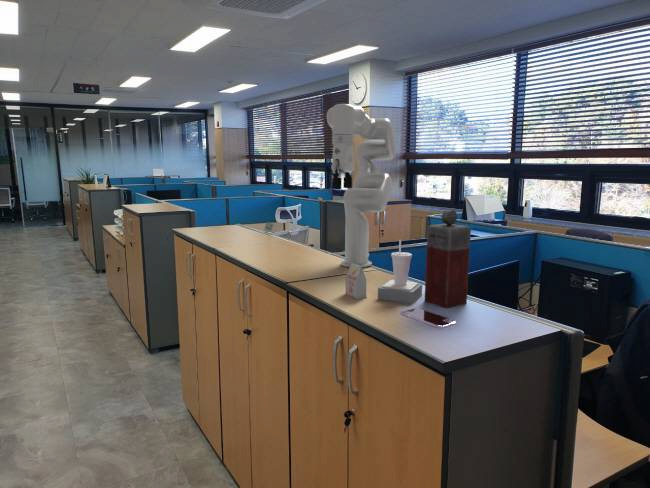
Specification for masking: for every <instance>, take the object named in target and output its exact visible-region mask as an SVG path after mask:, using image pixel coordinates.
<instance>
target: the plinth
mask: <svg viewBox="0 0 650 488" xmlns="http://www.w3.org/2000/svg"><path fill="white" fill-rule="evenodd" d="M422 295H423V284H422V283H419V282H413V281H407V285H404V286H399V285H395V283H394V279H390V280H387V281H386V282H385V283H383V284H382V285H380V286H379V287H378V288H377V300H383V301H391V302H396V303H405V304H412V305H413V304H414V303H415V302H416V301H417V300H418V299H419V298H421V296H422Z"/></svg>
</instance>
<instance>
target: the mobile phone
mask: <svg viewBox="0 0 650 488" xmlns="http://www.w3.org/2000/svg"><path fill="white" fill-rule="evenodd" d="M399 315H402V316H404V317H406V318H409V319H413V320H414V321H418V322H421V323H423V324H426V325H429V326H432V327H435V328H438V329H444V328H448V327H451V326H455V325H457V324H458V323H459V322H458V321H457V320H455V319H453V318H449V317H446V316H443V315H440V314H438V313H434V312H431V311H428V310H425V309H422V308H419V307H415V308H410V309H407V310H404V311H400V312H399Z"/></svg>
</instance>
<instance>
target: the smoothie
mask: <svg viewBox="0 0 650 488" xmlns="http://www.w3.org/2000/svg"><path fill="white" fill-rule="evenodd" d="M398 242H399V243H398V246H399V247H398V251H396V252H392V253H391V255H390V257H391V258H392V269H393V270H392V271H393V280H394V283H395V285H399V286H404V285H407V282H408V277H409V272H410V264H411V259H412V257H413V254H412V253H411V252H406V251H405V252H404V251H403V252H402V239H399V241H398Z"/></svg>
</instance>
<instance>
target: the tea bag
mask: <svg viewBox="0 0 650 488" xmlns="http://www.w3.org/2000/svg"><path fill="white" fill-rule="evenodd" d="M345 295H347V296H349V297H351V298H353V299H355V300H358V299H359V300H360V299H366V298H367V278H366V275H365V273H364V270H363V268H362V267H361V266H358V265H356V264H353V263H350V267H348V270H347V273H346V275H345Z"/></svg>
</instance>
